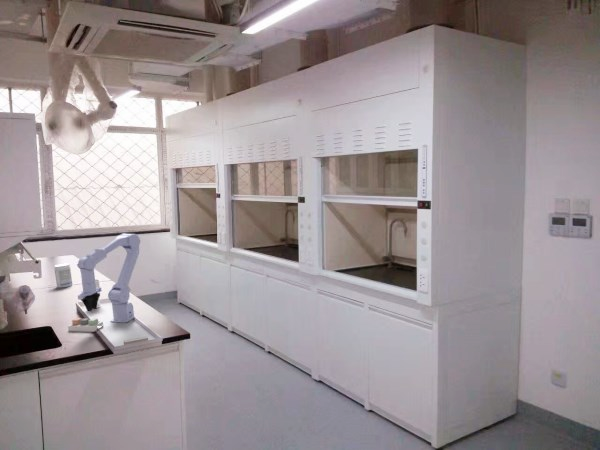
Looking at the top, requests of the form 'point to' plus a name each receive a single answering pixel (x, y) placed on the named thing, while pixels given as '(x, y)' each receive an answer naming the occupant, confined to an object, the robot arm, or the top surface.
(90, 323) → the sage key
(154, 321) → the top surface
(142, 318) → the top surface
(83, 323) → the grey key
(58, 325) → the top surface
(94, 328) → the keypad
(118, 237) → the robot arm
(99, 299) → the beer glass
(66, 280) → the supplement tub
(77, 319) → the terracotta key
